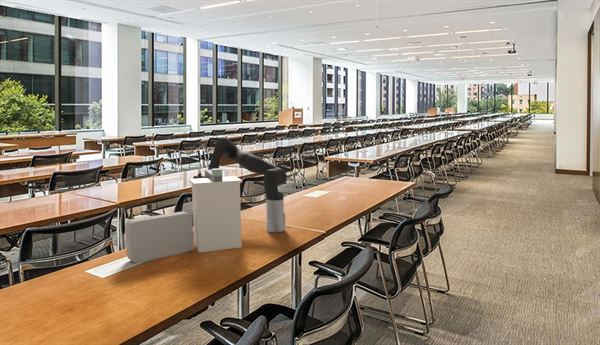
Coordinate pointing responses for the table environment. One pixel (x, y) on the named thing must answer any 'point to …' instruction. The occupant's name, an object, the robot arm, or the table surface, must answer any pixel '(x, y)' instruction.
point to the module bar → (214, 174)
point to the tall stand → (216, 213)
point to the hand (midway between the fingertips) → (209, 173)
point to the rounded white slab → (158, 236)
